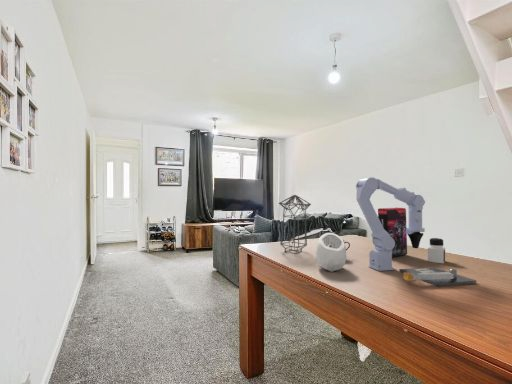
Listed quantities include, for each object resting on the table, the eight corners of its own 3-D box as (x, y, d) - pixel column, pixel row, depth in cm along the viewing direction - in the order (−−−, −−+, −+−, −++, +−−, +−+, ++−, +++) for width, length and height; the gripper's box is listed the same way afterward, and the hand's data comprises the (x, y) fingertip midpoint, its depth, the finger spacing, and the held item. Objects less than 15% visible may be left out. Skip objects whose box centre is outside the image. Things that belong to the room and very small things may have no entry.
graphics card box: (388, 258, 156) (388, 208, 156) (377, 256, 162) (377, 208, 162) (407, 255, 164) (407, 207, 164) (396, 253, 170) (396, 207, 170)
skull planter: (342, 258, 148) (344, 227, 139) (347, 287, 131) (349, 254, 122) (315, 257, 150) (315, 227, 142) (316, 285, 133) (316, 253, 124)
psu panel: (438, 286, 109) (438, 282, 109) (399, 271, 129) (399, 268, 129) (476, 283, 112) (476, 279, 112) (432, 269, 133) (432, 266, 133)
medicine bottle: (444, 263, 144) (444, 240, 144) (427, 261, 148) (427, 238, 148) (445, 261, 150) (445, 238, 150) (429, 259, 154) (429, 237, 154)
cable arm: (453, 278, 114) (453, 268, 114) (458, 280, 111) (458, 270, 111) (403, 279, 113) (403, 269, 113) (407, 282, 110) (407, 271, 110)
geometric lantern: (289, 248, 184) (290, 194, 184) (311, 252, 174) (312, 195, 174) (275, 252, 172) (276, 194, 172) (297, 256, 162) (299, 195, 162)
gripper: (414, 218, 144) (414, 245, 144) (399, 219, 136) (399, 248, 136) (429, 219, 139) (429, 247, 139) (414, 221, 130) (414, 250, 130)
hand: (415, 247), depth 137 cm, fingers closed
